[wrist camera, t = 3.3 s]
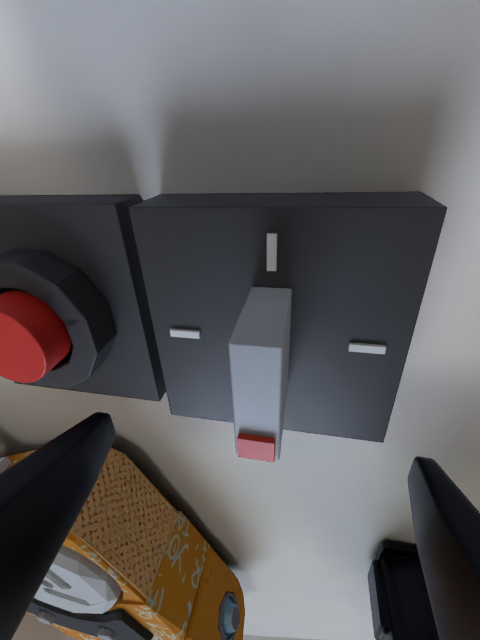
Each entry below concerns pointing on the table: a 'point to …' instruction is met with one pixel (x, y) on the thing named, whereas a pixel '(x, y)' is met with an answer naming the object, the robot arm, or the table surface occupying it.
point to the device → (136, 568)
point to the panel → (307, 296)
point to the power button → (29, 337)
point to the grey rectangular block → (261, 372)
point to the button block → (85, 288)
